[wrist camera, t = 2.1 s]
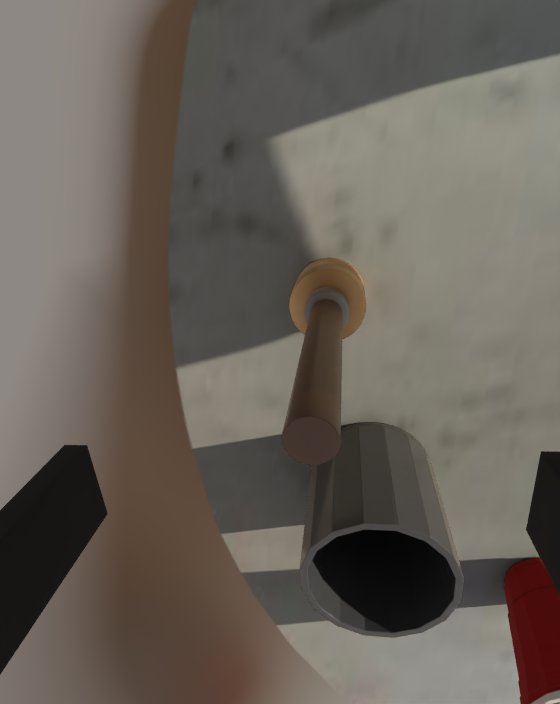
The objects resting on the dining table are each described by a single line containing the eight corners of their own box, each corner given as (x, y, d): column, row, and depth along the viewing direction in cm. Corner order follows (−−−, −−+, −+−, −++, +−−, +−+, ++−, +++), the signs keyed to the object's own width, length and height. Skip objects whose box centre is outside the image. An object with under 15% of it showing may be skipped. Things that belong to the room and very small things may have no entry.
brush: (364, 255, 30) (387, 375, 13) (364, 323, 32) (385, 501, 15) (292, 259, 31) (230, 376, 14) (296, 325, 33) (246, 496, 16)
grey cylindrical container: (434, 422, 35) (470, 528, 25) (427, 518, 38) (456, 643, 28) (309, 421, 36) (295, 520, 26) (314, 513, 40) (304, 630, 30)
